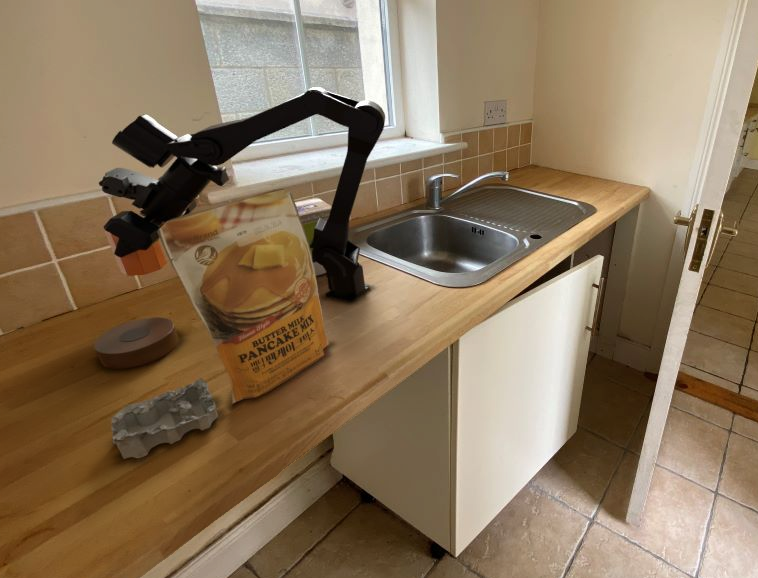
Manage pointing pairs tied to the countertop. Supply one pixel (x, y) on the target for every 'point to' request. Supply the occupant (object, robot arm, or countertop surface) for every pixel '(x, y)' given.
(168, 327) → the walnut ring base
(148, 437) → the egg carton
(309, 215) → the tea box
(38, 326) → the countertop surface
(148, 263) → the orange faceted cup
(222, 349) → the pancake mix bag
